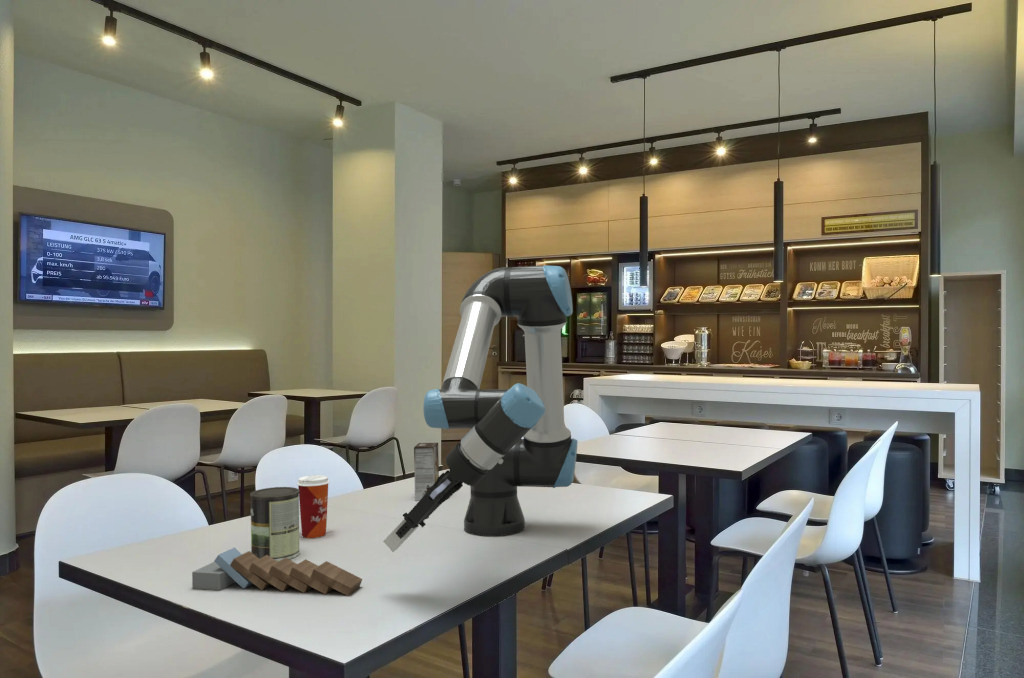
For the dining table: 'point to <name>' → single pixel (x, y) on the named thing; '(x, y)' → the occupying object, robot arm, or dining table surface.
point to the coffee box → (425, 467)
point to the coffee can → (275, 522)
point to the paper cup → (313, 505)
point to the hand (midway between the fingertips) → (389, 545)
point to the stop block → (211, 578)
